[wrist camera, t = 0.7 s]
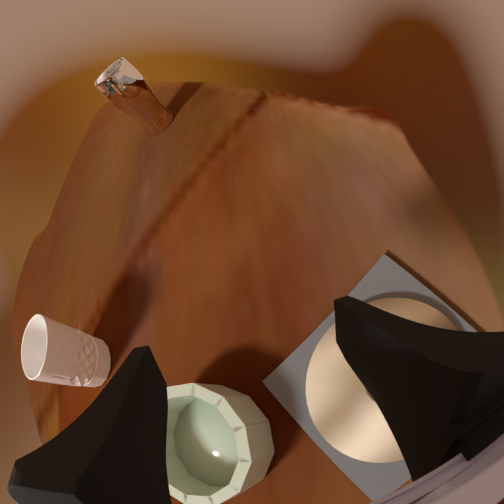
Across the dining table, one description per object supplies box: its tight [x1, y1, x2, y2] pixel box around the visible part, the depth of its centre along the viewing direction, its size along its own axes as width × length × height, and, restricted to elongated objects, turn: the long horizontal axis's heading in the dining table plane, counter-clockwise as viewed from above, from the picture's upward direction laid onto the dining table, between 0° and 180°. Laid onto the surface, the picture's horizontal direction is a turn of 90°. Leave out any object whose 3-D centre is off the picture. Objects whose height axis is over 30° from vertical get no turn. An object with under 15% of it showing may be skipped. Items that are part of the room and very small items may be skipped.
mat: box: [262, 254, 477, 501], centre depth 21 cm, size 15×15×1 cm
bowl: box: [166, 383, 275, 504], centre depth 23 cm, size 11×11×4 cm
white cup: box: [21, 314, 111, 387], centre depth 31 cm, size 8×8×10 cm
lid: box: [306, 298, 458, 463], centre depth 18 cm, size 13×13×5 cm
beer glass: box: [95, 58, 174, 136], centre depth 46 cm, size 7×7×15 cm
